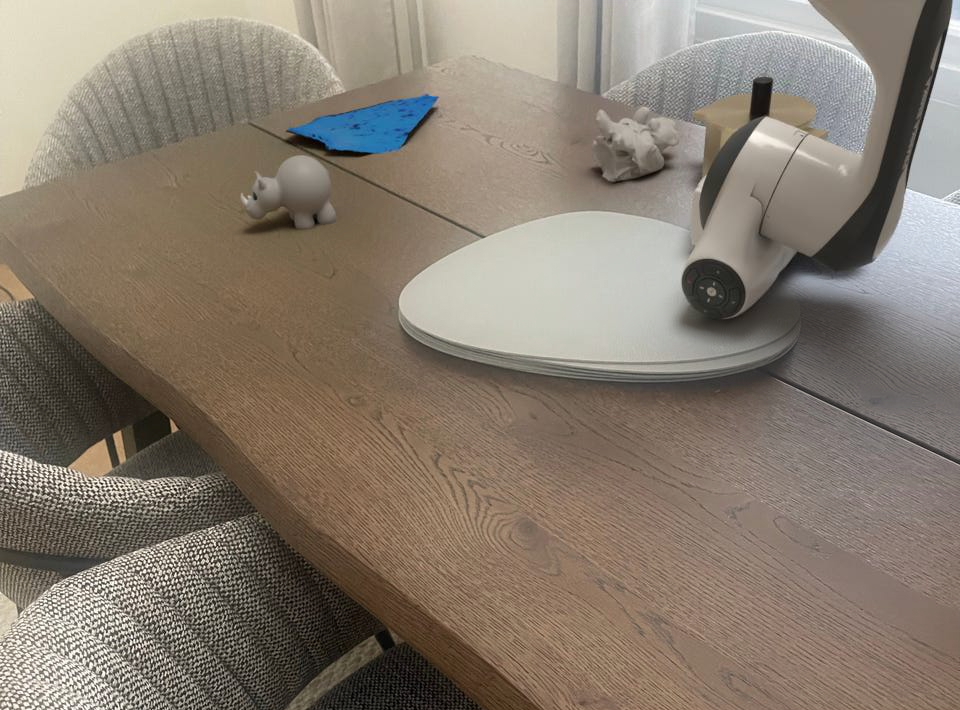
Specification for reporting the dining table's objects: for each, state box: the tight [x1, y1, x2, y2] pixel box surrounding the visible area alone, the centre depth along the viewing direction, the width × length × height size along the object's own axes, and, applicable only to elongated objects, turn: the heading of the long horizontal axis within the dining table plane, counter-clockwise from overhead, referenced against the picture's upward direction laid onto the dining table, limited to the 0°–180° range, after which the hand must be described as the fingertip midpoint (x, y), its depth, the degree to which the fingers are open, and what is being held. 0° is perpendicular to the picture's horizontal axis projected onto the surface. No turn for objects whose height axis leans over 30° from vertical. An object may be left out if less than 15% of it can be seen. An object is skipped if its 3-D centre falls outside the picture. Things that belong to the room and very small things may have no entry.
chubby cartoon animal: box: [240, 154, 338, 230], centre depth 127 cm, size 7×12×8 cm, turn 108°
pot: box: [692, 106, 829, 179], centre depth 124 cm, size 13×18×8 cm
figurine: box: [591, 106, 681, 183], centre depth 129 cm, size 8×10×12 cm
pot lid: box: [704, 76, 817, 133], centre depth 120 cm, size 14×14×5 cm
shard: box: [284, 93, 440, 155], centre depth 153 cm, size 25×24×2 cm
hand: (805, 180), depth 114 cm, fingers open, 8 cm apart
